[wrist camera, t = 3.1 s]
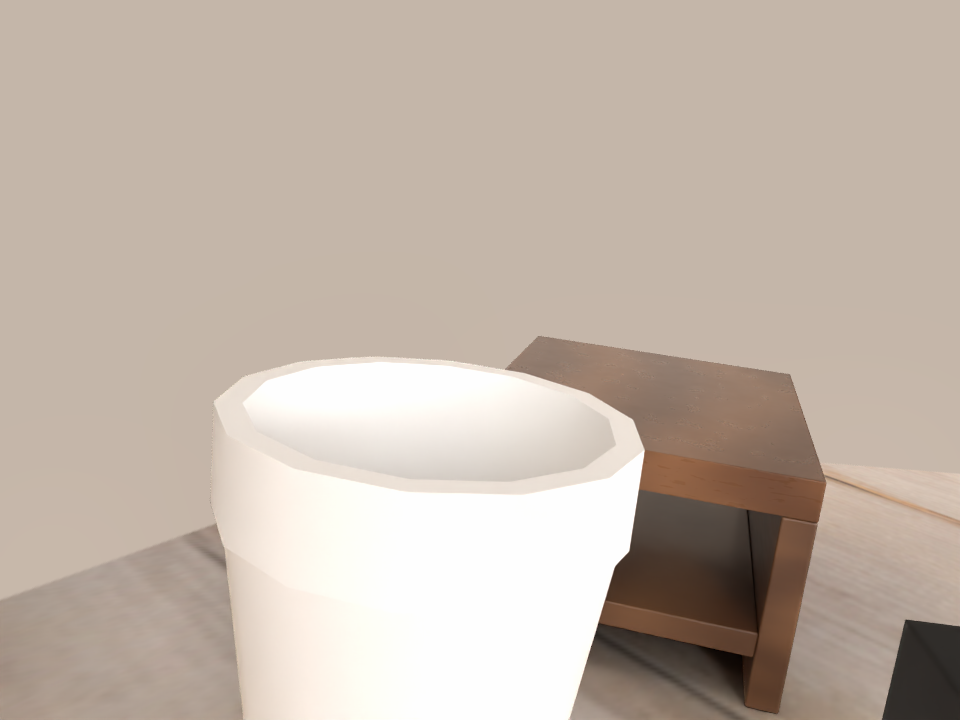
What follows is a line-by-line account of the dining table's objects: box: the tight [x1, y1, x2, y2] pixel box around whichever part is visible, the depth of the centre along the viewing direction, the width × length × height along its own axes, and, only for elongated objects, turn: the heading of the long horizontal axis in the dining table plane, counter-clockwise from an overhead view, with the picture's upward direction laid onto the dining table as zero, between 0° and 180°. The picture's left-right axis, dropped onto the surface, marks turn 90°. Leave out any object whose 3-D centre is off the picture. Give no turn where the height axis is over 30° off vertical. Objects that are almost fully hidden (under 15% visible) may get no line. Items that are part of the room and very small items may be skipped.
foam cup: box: [210, 356, 645, 720], centre depth 22 cm, size 10×9×13 cm
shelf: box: [505, 336, 826, 714], centre depth 40 cm, size 13×16×9 cm
